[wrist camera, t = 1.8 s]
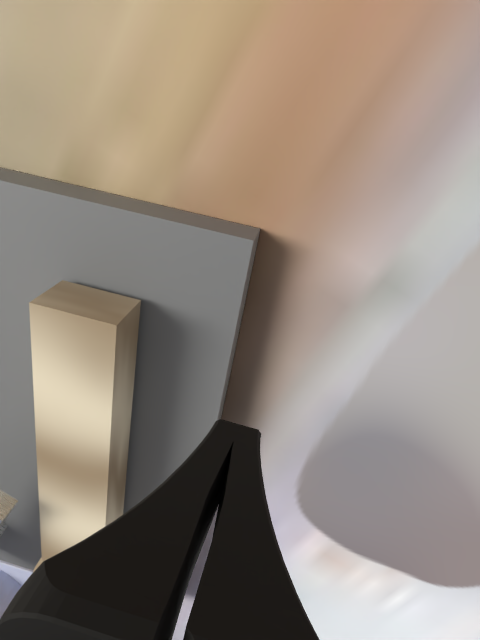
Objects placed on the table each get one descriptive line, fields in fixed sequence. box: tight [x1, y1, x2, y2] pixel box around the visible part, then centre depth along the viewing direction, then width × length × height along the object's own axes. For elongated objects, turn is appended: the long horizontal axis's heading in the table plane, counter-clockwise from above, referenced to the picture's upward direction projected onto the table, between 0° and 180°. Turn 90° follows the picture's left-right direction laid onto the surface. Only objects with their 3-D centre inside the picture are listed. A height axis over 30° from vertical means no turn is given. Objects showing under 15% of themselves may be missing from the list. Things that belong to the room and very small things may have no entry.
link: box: [29, 280, 141, 572], centre depth 19 cm, size 17×4×3 cm, turn 169°
